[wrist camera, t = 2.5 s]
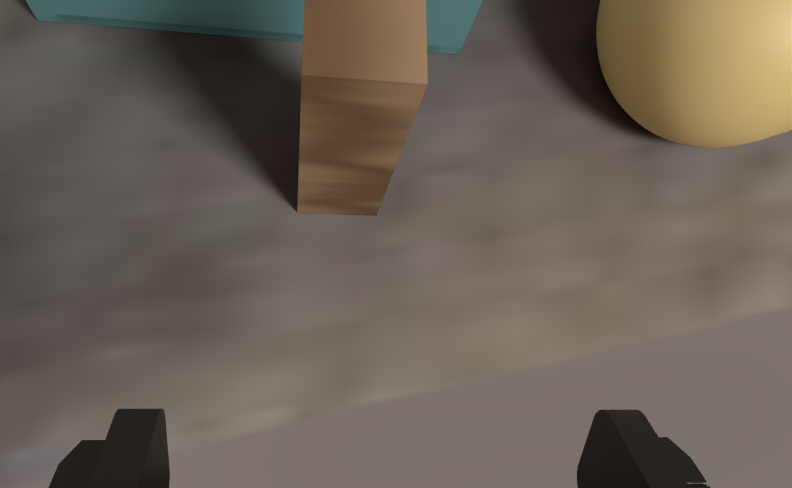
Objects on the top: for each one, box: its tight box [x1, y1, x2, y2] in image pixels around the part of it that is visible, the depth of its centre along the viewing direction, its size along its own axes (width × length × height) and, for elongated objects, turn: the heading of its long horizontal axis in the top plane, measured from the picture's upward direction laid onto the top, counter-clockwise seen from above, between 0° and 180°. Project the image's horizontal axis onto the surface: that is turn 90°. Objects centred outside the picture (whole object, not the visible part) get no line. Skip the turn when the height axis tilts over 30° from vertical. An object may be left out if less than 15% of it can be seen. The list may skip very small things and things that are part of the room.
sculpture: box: [596, 0, 792, 147], centre depth 30 cm, size 12×12×11 cm
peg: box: [297, 0, 428, 216], centre depth 25 cm, size 4×4×12 cm
